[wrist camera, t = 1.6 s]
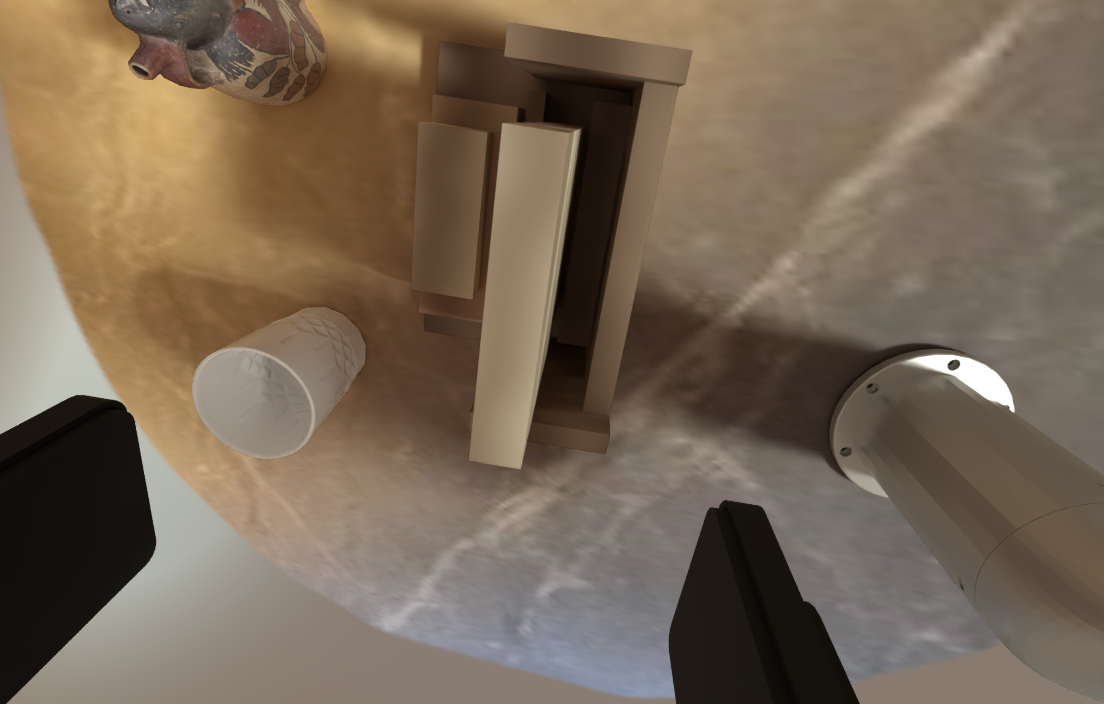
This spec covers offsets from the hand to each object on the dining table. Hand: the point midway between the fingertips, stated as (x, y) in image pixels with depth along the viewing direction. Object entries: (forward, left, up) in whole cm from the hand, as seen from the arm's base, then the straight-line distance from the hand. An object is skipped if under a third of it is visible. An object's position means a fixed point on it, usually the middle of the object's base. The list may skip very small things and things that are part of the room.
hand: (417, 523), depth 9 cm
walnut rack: (+1, +1, -32) cm, 32 cm away
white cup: (+8, +19, -32) cm, 38 cm away
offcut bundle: (+5, +3, -31) cm, 31 cm away
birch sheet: (0, 0, -31) cm, 31 cm away
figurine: (+21, +3, -32) cm, 38 cm away
